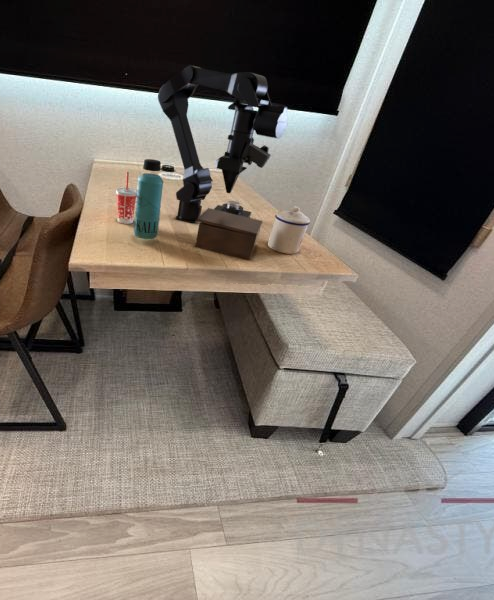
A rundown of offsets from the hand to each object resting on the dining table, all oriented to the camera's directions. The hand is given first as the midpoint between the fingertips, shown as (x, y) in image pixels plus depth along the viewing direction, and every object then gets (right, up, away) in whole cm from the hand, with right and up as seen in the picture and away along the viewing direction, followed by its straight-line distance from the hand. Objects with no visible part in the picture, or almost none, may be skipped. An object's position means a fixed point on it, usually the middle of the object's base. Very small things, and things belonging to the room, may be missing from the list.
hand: (228, 192), depth 93 cm
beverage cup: (-30, -7, +5) cm, 31 cm away
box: (-1, -16, -3) cm, 16 cm away
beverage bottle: (-23, -15, -6) cm, 28 cm away
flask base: (+5, -3, +19) cm, 19 cm away
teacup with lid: (+15, -15, +1) cm, 22 cm away
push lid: (+5, +1, +17) cm, 17 cm away
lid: (-1, -10, -7) cm, 12 cm away
